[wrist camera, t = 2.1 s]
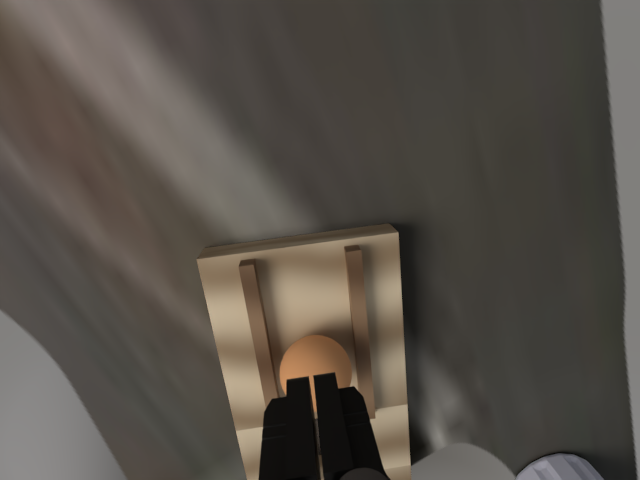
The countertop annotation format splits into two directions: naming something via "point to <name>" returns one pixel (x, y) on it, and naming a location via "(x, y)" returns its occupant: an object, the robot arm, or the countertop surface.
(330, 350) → the ball
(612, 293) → the countertop surface
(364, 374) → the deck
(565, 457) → the soap bottle
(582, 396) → the countertop surface
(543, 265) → the countertop surface
